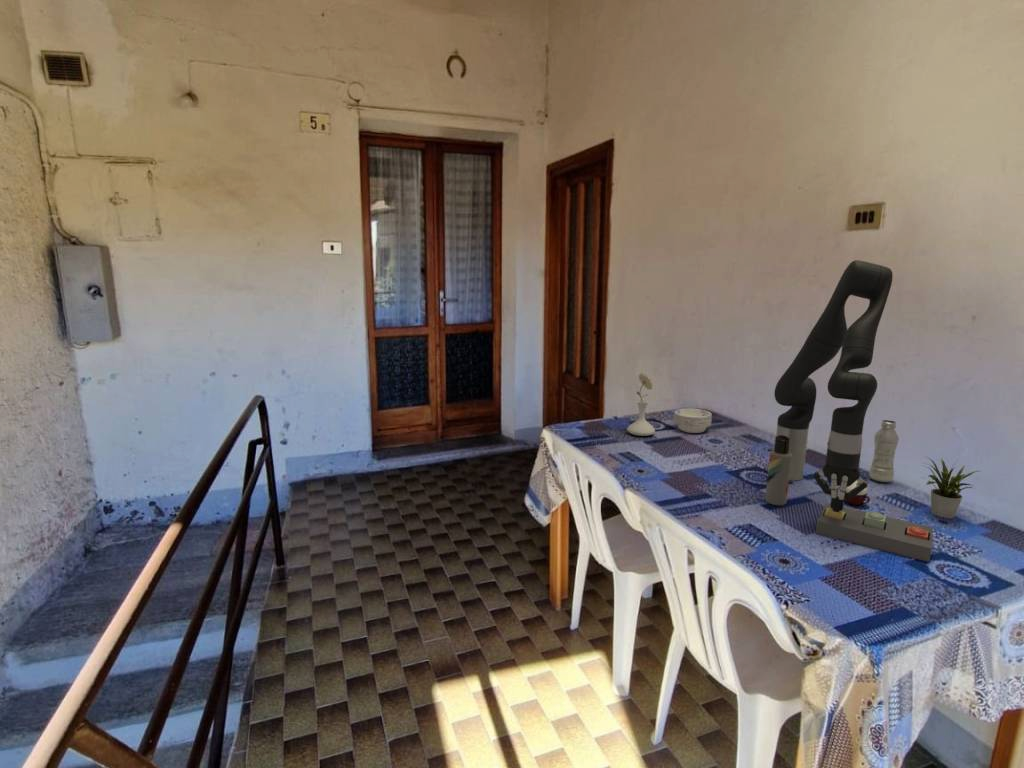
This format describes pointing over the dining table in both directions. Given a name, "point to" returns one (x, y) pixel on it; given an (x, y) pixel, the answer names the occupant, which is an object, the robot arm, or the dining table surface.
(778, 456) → the lotion bottle
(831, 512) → the ochre button
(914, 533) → the red button
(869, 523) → the sage button
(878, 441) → the plastic bottle
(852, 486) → the cocoa
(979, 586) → the dining table surface
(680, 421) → the paper bowls
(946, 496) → the house plant
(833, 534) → the panel
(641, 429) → the flower in vase
